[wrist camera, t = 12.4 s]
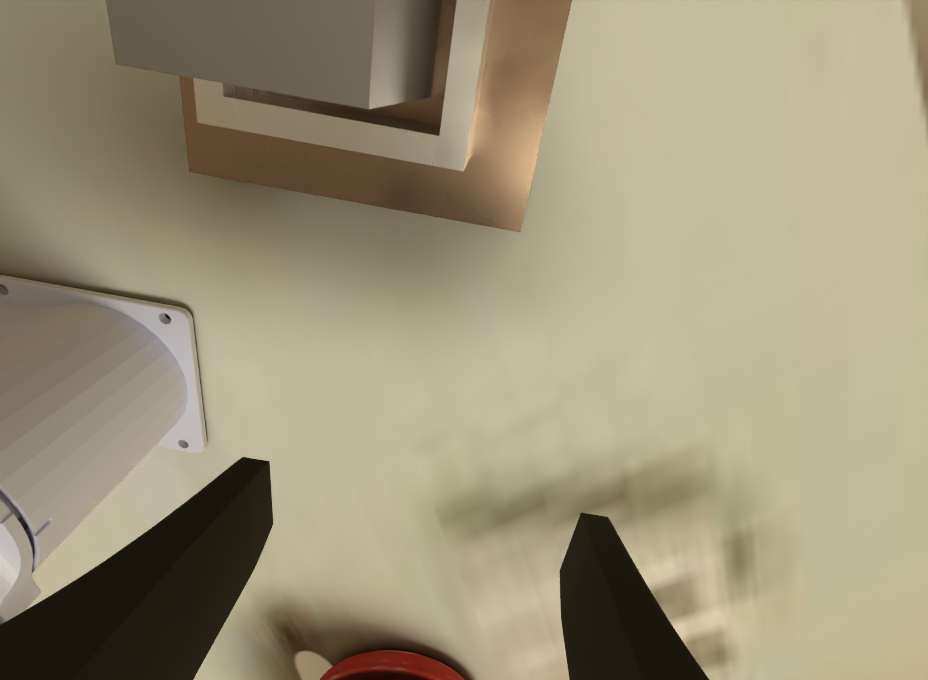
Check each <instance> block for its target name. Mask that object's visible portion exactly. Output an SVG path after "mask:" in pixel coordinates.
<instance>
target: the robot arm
mask: <svg viewBox="0 0 928 680" xmlns="http://www.w3.org/2000/svg"><path fill="white" fill-rule="evenodd" d="M6 287H7V288H6ZM164 313H165V314H167V315H168V316H170V318H171V320H169V319H168V318H167V317H166V316H165V314H164ZM185 441H186V442H185ZM154 446H159V447H164V448H170V449H175V450H181V451H187V452H192V453H200V452H202V451H203V450H204V449H205V447H206V446H207V437H206V429H205V420H204V412H203V403H202V395H201V386H200V377H199V369H198V360H197V352H196V343H195V335H194V326H193V319H192V316H191V314H190V313H189V311H187V310H186V309H184V308H182V307H178V306H172V305H167V304H161V303H155V302H150V301H144V300H139V299H133V298H128V297H122V296H117V295H111V294H105V293H100V292H94V291H89V290H83V289H78V288H72V287H67V286H61V285H55V284H50V283H44V282H39V281H33V280H28V279H22V278H17V277H11V276H5V275H0V680H193V679H194V677H195V675H196V673H197V671H198V670H199V668H200V666H201V664H202V662H203V661H204V659H205V657H206V655H207V653H208V652H209V650H210V648H211V646H212V644H213V643H214V641H215V639H216V637H217V635H218V634H219V632H220V630H221V628H222V627H223V625H224V623H225V621H226V619H227V618H228V616H229V614H230V612H231V610H232V609H233V607H234V605H235V603H236V601H237V600H238V598H239V596H240V594H241V592H242V590H243V589H244V587H245V585H246V583H247V581H248V580H249V578H250V576H251V574H252V572H253V570H254V568H255V566H256V564H257V562H258V559H259V557H260V555H261V552H262V550H263V548H264V545H265V543H266V540H267V538H268V535H269V533H270V530H271V528H272V525H273V513H272V497H271V481H270V465H269V461H264V460H257V459H251V458H245V457H243V458H241V459H240V460H238V461H237V462H236V463H234V464H233V465H232V466H230V467H229V468H228V469H227V470H225V471H224V472H223V473H222V474H221V475H219V476H218V477H217V478H216V479H214V480H213V481H212V482H211V483H209V484H208V485H207V486H206V487H204V488H203V489H202V490H201V491H199V492H198V493H197V494H195V495H194V496H193V497H192V498H190V499H189V500H188V501H187V502H185V503H184V504H183V505H181V506H180V507H179V508H177V509H176V510H175V511H173V512H172V513H171V514H169V515H168V516H167V517H166V518H164V519H163V520H162V521H160V522H159V523H158V524H156V525H155V526H154V527H152V528H151V529H150V530H148V531H147V532H145V533H144V534H143V535H141V536H140V537H138V538H137V539H136V540H134V541H133V542H131V543H130V544H128V545H127V546H126V547H124V548H123V549H121V550H120V551H118V552H117V553H116V554H114V555H113V556H111V557H110V558H108V559H107V560H106V561H104V562H103V563H101V564H100V565H98V566H97V567H95V568H94V569H92V570H90V571H89V572H87V573H86V574H84V575H83V576H81V577H80V578H78V579H77V580H75V581H73V582H72V583H70V584H69V585H67V586H65V587H64V588H62V589H61V590H59V591H57V592H56V593H54V594H52V595H51V596H49V597H48V598H46V599H44V600H43V601H41V602H39V603H38V604H36V605H34V606H32V607H31V608H29V609H27V608H28V606H29V605H30V604H31V603H32V602H33V601H34V600H35V599H36V598H37V597H38V595H39V594H40V593H41V590H40V589H39V587H38V586H37V585H36V583H35V581H34V579H33V578H32V572H33V571H34V570H35V569H36V568H37V567H38V566H39V565H40V564H41V563H42V562H43V561H44V560H45V559H46V558H47V557H48V556H49V555H50V554H51V553H52V552H53V551H54V550H55V549H56V548H57V547H58V546H59V545H60V544H61V543H62V541H63V540H64V539H65V538H66V537H67V536H68V535H69V534H70V533H71V532H72V531H73V530H74V529H75V528H76V527H77V526H78V525H79V524H80V523H81V522H82V521H83V520H84V519H85V518H86V517H87V516H88V515H89V514H90V513H91V511H92V510H93V509H94V508H95V507H96V506H97V505H98V504H99V503H100V502H101V501H102V500H103V499H104V498H105V497H106V496H107V495H108V494H109V493H110V492H111V491H112V490H113V489H114V488H115V487H116V486H117V485H118V484H119V483H120V481H121V480H122V479H123V478H124V477H125V476H126V475H127V474H128V473H129V472H130V471H131V470H132V469H133V468H134V467H135V466H136V465H137V464H138V463H139V462H140V461H141V460H142V459H143V458H144V457H145V456H146V455H147V454H148V452H149V451H150V450H151V449H152V448H153V447H154ZM560 599H561V620H562V628H563V635H564V642H565V650H566V657H567V664H568V671H569V678H570V680H709V679H708V677H707V676H706V674H705V673H704V672H703V670H702V669H701V667H700V666H699V665H698V663H697V662H696V660H695V659H694V657H693V656H692V654H691V653H690V652H689V650H688V649H687V647H686V646H685V644H684V643H683V641H682V640H681V638H680V637H679V635H678V634H677V632H676V631H675V629H674V628H673V626H672V625H671V623H670V622H669V620H668V618H667V617H666V615H665V614H664V612H663V610H662V609H661V607H660V606H659V604H658V602H657V601H656V599H655V597H654V596H653V594H652V593H651V591H650V589H649V588H648V586H647V584H646V583H645V581H644V579H643V578H642V576H641V574H640V573H639V571H638V569H637V567H636V566H635V564H634V562H633V560H632V559H631V557H630V555H629V553H628V552H627V550H626V548H625V546H624V544H623V543H622V541H621V539H620V537H619V535H618V534H617V532H616V530H615V528H614V526H613V525H612V523H611V521H610V520H609V518H608V517H604V516H598V515H592V514H586V513H581V514H580V517H579V520H578V523H577V525H576V528H575V531H574V533H573V536H572V539H571V542H570V544H569V547H568V550H567V553H566V555H565V558H564V561H563V564H562V566H561V569H560ZM26 609H27V610H26Z"/></svg>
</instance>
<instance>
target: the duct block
mask: <svg viewBox="0 0 928 680" xmlns="http://www.w3.org/2000/svg"><path fill="white" fill-rule="evenodd" d="M441 1H442V0H106V3H107V10H108V16H109V22H110V28H111V34H112V41H113V47H114V53H115V59H116V64H118V65H124V66H129V67H135V68H141V69H146V70H152V71H157V72H163V73H169V74H174V75H180V76H185V77H191V78H197V79H202V80H208V81H213V82H219V83H225V84H230V85H236V86H241V87H247V88H253V89H258V90H264V91H269V92H275V93H281V94H286V95H292V96H297V97H303V98H309V99H314V100H320V101H325V102H331V103H337V104H342V105H348V106H353V107H359V108H365V109H373V108H378V107H383V106H388V105H393V104H398V103H403V102H408V101H414V100H419V99H424V98H429V97H431V91H432V82H433V73H434V64H435V55H436V46H437V37H438V28H439V19H440V10H441Z"/></svg>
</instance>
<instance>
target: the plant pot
mask: <svg viewBox="0 0 928 680" xmlns="http://www.w3.org/2000/svg"><path fill="white" fill-rule="evenodd" d="M320 680H465V679H464V678H462V677H461V676H460V675H459V674H458V673H457V672H455V671H454V670H452V669H451V668H449V667H448V666H446V665H444V664H443V663H441V662H438V661H436V660H434V659H431V658H429V657H426V656H423V655H420V654H416V653H412V652H406V651H398V650H379V651H371V652H366V653H361V654H358V655H354V656H352V657H349V658H347V659H345V660H343V661H341V662H339V663H338V664H336V665H335V666H333V667H332V668H331V669H329V670H328V671H327V672H326V673H325V674H324V675H323V676H322V677H321V679H320Z"/></svg>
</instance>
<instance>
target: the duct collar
mask: <svg viewBox="0 0 928 680" xmlns="http://www.w3.org/2000/svg"><path fill="white" fill-rule="evenodd" d="M571 2H572V0H442V1H441V10H440V19H439V28H438V37H437V46H436V55H435V64H434V73H433V82H432V91H431V97H429V98H424V99H419V100H414V101H408V102H403V103H398V104H393V105H388V106H383V107H378V108H373V109H365V108H359V107H353V106H348V105H342V104H337V103H331V102H325V101H320V100H314V99H309V98H303V97H297V96H292V95H286V94H281V93H275V92H269V91H264V90H258V89H253V88H247V87H241V86H236V85H230V84H225V83H219V82H213V81H208V80H202V79H197V78H191V77H185V76H180V84H181V94H182V103H183V113H184V123H185V132H186V142H187V152H188V161H189V171H190V172H194V173H199V174H205V175H210V176H215V177H221V178H226V179H232V180H237V181H243V182H248V183H254V184H259V185H265V186H270V187H276V188H281V189H287V190H292V191H298V192H303V193H309V194H314V195H320V196H325V197H331V198H336V199H342V200H347V201H353V202H358V203H363V204H369V205H374V206H380V207H385V208H391V209H396V210H402V211H407V212H413V213H418V214H424V215H429V216H435V217H440V218H446V219H451V220H457V221H462V222H468V223H473V224H479V225H484V226H490V227H495V228H501V229H506V230H511V231H517V232H521V227H522V223H523V218H524V214H525V209H526V205H527V200H528V196H529V191H530V187H531V182H532V178H533V173H534V169H535V164H536V160H537V155H538V151H539V146H540V142H541V137H542V133H543V128H544V124H545V119H546V115H547V110H548V106H549V101H550V97H551V92H552V88H553V83H554V79H555V74H556V70H557V65H558V61H559V56H560V51H561V47H562V42H563V38H564V33H565V29H566V24H567V20H568V15H569V11H570V6H571Z"/></svg>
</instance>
